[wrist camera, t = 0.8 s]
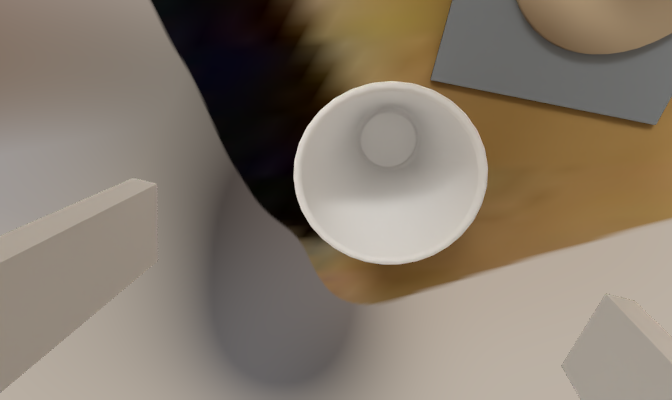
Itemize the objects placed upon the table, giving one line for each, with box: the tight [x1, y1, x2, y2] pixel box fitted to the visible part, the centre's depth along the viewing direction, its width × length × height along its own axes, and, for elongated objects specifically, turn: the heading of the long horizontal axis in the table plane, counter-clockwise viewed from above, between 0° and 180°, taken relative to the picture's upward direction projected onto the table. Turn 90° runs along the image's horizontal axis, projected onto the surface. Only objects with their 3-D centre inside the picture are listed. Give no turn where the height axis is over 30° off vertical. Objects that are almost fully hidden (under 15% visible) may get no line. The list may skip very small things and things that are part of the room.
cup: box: [294, 81, 488, 265], centre depth 23 cm, size 10×10×11 cm
